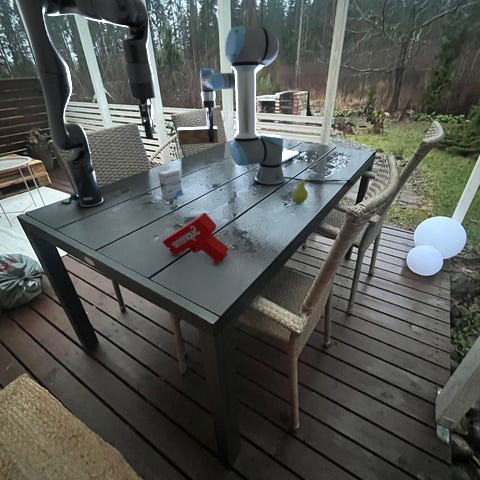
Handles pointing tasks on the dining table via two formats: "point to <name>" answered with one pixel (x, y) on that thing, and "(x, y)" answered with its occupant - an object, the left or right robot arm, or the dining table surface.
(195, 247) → the toy gun
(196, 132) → the bar
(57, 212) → the dining table surface
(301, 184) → the fruit
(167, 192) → the ink box
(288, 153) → the white printed flat box
